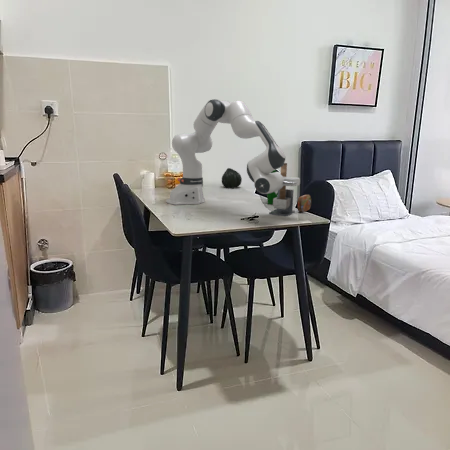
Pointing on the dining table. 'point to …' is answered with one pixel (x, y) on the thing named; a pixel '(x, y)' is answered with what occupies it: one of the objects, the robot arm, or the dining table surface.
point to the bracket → (283, 204)
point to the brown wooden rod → (283, 189)
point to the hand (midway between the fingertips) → (283, 179)
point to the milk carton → (273, 194)
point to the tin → (304, 203)
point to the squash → (231, 178)
